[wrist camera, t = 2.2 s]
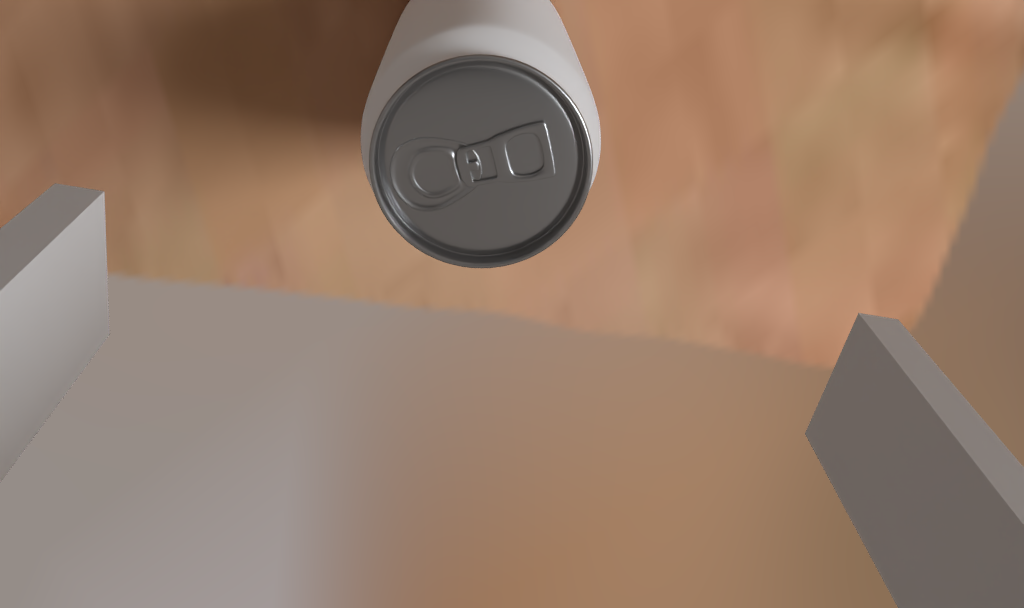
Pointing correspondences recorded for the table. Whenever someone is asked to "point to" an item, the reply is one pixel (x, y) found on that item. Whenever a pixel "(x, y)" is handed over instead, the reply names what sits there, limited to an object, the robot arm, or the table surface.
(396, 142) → the can
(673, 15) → the table surface
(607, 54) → the table surface
